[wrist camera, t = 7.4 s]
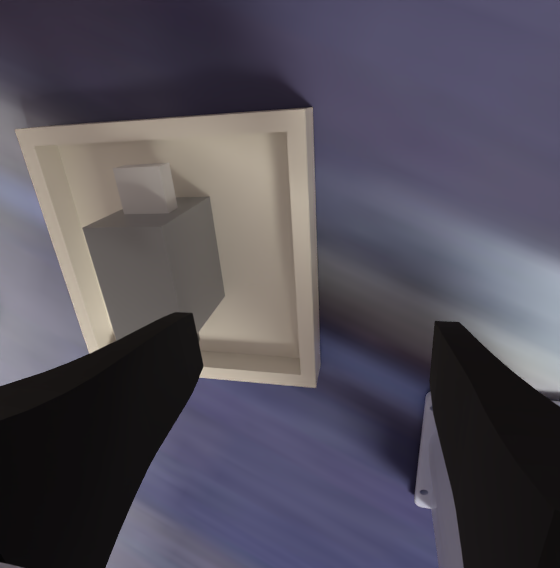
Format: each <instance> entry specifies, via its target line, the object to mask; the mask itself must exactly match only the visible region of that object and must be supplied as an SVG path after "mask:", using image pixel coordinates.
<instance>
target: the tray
mask: <svg viewBox="0 0 560 568" xmlns="http://www.w3.org/2000/svg"><path fill="white" fill-rule="evenodd" d="M15 132H16V135H17V138H18V141H19V144H20V147H21V150H22V153H23V156H24V159H25V162H26V165H27V168H28V171H29V174H30V177H31V180H32V183H33V186H34V189H35V192H36V195H37V198H38V201H39V204H40V207H41V210H42V213H43V216H44V219H45V222H46V225H47V228H48V231H49V234H50V237H51V240H52V243H53V246H54V249H55V252H56V255H57V258H58V261H59V264H60V267H61V270H62V273H63V276H64V279H65V282H66V285H67V288H68V291H69V294H70V297H71V300H72V303H73V306H74V309H75V312H76V315H77V318H78V321H79V324H80V327H81V330H82V333H83V336H84V339H85V342H86V345H87V348H88V351H89V354H90V353H92V352H94V351H96V350H98V349H100V348H102V347H104V346H106V345H108V344H111V343H113V342H115V341H116V337H115V334H114V331H113V328H112V324H111V321H110V318H109V314H108V311H107V308H106V304H105V301H104V298H103V295H102V291H101V288H100V285H99V281H98V278H97V275H96V271H95V268H94V265H93V262H92V258H91V255H90V252H89V248H88V245H87V242H86V238H85V235H84V232H83V229H82V228H83V227H85V226H87V225H89V224H91V223H93V222H96V221H98V220H100V219H102V218H104V217H106V216H109V215H111V214H113V213H115V212H117V211H119V210H121V209H123V208H122V204H121V200H120V196H119V192H118V188H117V184H116V180H115V176H114V172H113V168H116V167H120V166H123V165H135V164H154V163H169V164H170V170H171V175H172V180H173V185H174V190H175V196H176V198H177V197H209V196H210V202H211V208H212V214H213V221H214V227H215V234H216V240H217V247H218V253H219V260H220V266H221V272H222V279H223V285H224V292H225V297H224V298H223V300H222V301H221V302H220V304H219V305H218V306H217V308H216V309H215V311H214V312H213V313H212V315H211V316H210V317H209V319H208V320H207V321H206V323H205V324H204V325H203V327H202V328H201V330H200V331H199V336H200V341H199V346H200V351H201V355H202V360H203V365H204V366H203V369H202V371H201V374H200V378H211V379H222V380H233V381H244V382H255V383H266V384H277V385H288V386H299V387H310V388H316V385H317V380H318V375H319V370H320V366H321V358H320V326H319V294H318V262H317V230H316V198H315V166H314V134H313V107H308V108H294V109H280V110H265V111H251V112H237V113H223V114H209V115H195V116H181V117H166V118H152V119H138V120H124V121H110V122H96V123H81V124H67V125H53V126H42V127H32V128H23V129H15Z"/></svg>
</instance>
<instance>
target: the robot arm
mask: <svg viewBox="0 0 560 568" xmlns="http://www.w3.org/2000/svg"><path fill="white" fill-rule="evenodd" d="M203 366H204V365H203V360H202V355H201V351H200V346H199V341H198V336H197V331H196V326H195V321H194V317H193V313H185V312H174V313H172V314H169V315H167V316H164V317H162V318H160V319H158V320H156V321H154V322H152V323H150V324H148V325H146V326H144V327H142V328H140V329H138V330H136V331H134V332H132V333H131V334H129V335H127V336H125V337H123V338H121V339H119V340H117V341H115V342H113V343H111V344H108V345H106V346H104V347H102V348H100V349H98V350H96V351H94V352H92V353H90V354H88V355H85V356H83V357H81V358H79V359H76V360H74V361H71V362H69V363H67V364H64V365H61V366H59V367H56V368H54V369H51V370H48V371H46V372H43V373H40V374H37V375H34V376H31V377H28V378H25V379H22V380H19V381H15V382H12V383H9V384H6V385H3V386H0V568H105V567H106V565H107V562H108V560H109V557H110V554H111V552H112V549H113V547H114V544H115V542H116V539H117V537H118V534H119V532H120V529H121V527H122V525H123V523H124V520H125V518H126V516H127V513H128V511H129V509H130V507H131V504H132V502H133V500H134V497H135V495H136V493H137V491H138V489H139V487H140V485H141V482H142V480H143V478H144V476H145V474H146V472H147V470H148V468H149V466H150V464H151V462H152V460H153V458H154V457H155V455H156V453H157V451H158V450H159V448H160V446H161V445H162V443H163V441H164V440H165V438H166V436H167V435H168V433H169V431H170V430H171V428H172V426H173V425H174V423H175V422H176V420H177V418H178V417H179V415H180V413H181V412H182V410H183V408H184V407H185V405H186V403H187V402H188V400H189V398H190V396H191V395H192V393H193V391H194V388H195V386H196V384H197V382H198V379H199V377H200V374H201V371H202V369H203ZM431 406H432V407H431ZM414 499H415V503H416V505H418V506H419V507H424V508H430V509H431V510H432V518H433V525H434V533H435V541H436V548H437V556H438V563H439V568H560V401H551V400H549V399H548V398H547V397H545V396H544V395H542V394H541V393H540V392H538V391H537V390H535V389H534V388H533V387H532V386H530V385H529V384H528V383H526V382H525V381H524V380H523V379H521V378H520V377H519V376H518V375H516V374H515V373H514V372H513V371H511V370H510V369H509V368H508V367H507V366H506V365H504V364H503V363H502V362H501V361H500V360H499V359H498V358H496V357H495V356H494V355H493V354H492V353H491V352H490V351H489V350H488V349H487V348H485V347H484V346H483V345H482V344H481V343H480V342H479V341H478V340H477V339H476V338H475V337H474V336H473V335H472V334H471V333H470V332H469V331H468V330H467V329H466V328H465V327H464V326H463V325H462V324H461V323H460V322H443V321H435V326H434V337H433V348H432V360H431V371H430V392H428V393H427V394H426V397H425V406H424V415H423V424H422V433H421V442H420V450H419V459H418V468H417V477H416V486H415V495H414Z"/></svg>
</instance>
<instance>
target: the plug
mask: <svg viewBox="0 0 560 568" xmlns="http://www.w3.org/2000/svg"><path fill="white" fill-rule="evenodd" d="M113 172H114V176H115V180H116V184H117V188H118V192H119V196H120V200H121V204H122V208H123V209H121V210H119V211H117V212H115V213H113V214H111V215H109V216H106V217H104V218H102V219H100V220H98V221H96V222H93V223H91V224H89V225H87V226H85V227H83V228H82V229H83V232H84V235H85V238H86V242H87V245H88V248H89V252H90V255H91V258H92V262H93V265H94V268H95V271H96V275H97V278H98V281H99V285H100V288H101V291H102V295H103V298H104V301H105V304H106V308H107V311H108V314H109V318H110V321H111V324H112V328H113V331H114V334H115V337H116V341H117V340H119V339H121V338H123V337H125V336H127V335H129V334H131V333H132V332H134V331H136V330H138V329H140V328H142V327H144V326H146V325H148V324H150V323H152V322H154V321H156V320H158V319H160V318H162V317H164V316H167V315H169V314H172V313H174V312H185V313H193V317H194V321H195V326H196V331H197V336H198V341H200V336H199V331H200V330H201V328H202V327H203V325H204V324H205V323H206V321H207V320H208V319H209V317H210V316H211V315H212V313H213V312H214V311H215V309H216V308H217V306H218V305H219V304H220V302H221V301H222V300H223V298H224V297H225V292H224V285H223V279H222V272H221V266H220V260H219V253H218V247H217V240H216V234H215V227H214V221H213V214H212V208H211V202H210V196H209V197H177V198H176V196H175V190H174V185H173V180H172V175H171V170H170V164H169V163H154V164H135V165H123V166H120V167H116V168H113Z"/></svg>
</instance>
